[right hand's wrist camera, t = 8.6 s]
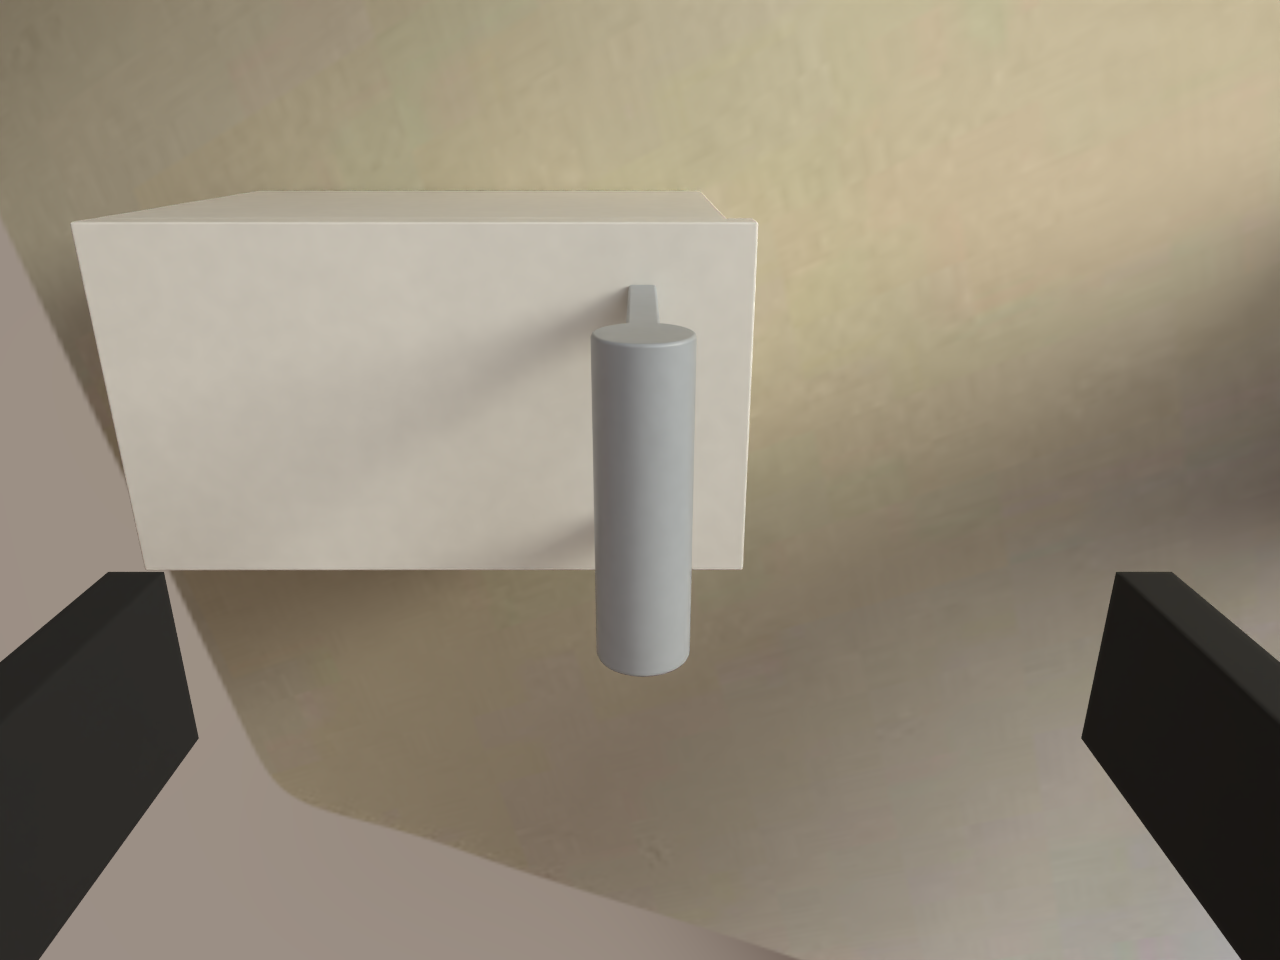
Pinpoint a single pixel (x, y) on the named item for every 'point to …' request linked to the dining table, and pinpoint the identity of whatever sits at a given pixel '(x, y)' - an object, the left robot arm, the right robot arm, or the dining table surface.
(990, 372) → the dining table surface
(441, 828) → the dining table surface
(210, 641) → the dining table surface
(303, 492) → the lid
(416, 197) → the chest
